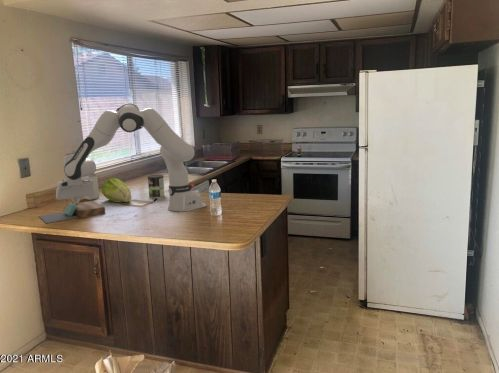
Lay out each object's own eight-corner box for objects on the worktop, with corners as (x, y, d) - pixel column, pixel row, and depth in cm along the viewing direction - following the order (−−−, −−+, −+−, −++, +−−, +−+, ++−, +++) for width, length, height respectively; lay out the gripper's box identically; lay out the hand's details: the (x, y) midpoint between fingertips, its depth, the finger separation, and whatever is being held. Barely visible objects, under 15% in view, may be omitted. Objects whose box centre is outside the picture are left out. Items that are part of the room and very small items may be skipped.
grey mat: (68, 211, 250) (68, 211, 250) (77, 218, 234) (77, 217, 234) (38, 216, 241) (38, 216, 241) (46, 223, 225) (46, 223, 225)
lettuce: (139, 208, 274) (116, 215, 264) (121, 190, 289) (99, 197, 279) (138, 188, 266) (114, 196, 257) (120, 172, 281) (97, 178, 272)
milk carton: (90, 200, 280) (87, 171, 277) (83, 199, 284) (80, 171, 280) (99, 197, 286) (96, 170, 282) (92, 196, 290) (90, 169, 286)
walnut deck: (93, 207, 260) (92, 200, 259) (105, 213, 242) (104, 206, 241) (69, 211, 251) (68, 204, 251) (80, 218, 234) (79, 211, 233)
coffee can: (153, 199, 277) (151, 177, 274) (146, 196, 285) (145, 176, 282) (167, 196, 283) (166, 175, 280) (160, 194, 291) (159, 174, 288)
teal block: (72, 204, 246) (69, 202, 244) (76, 206, 238) (73, 205, 237) (67, 213, 245) (64, 212, 243) (71, 216, 237) (68, 214, 236)
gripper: (91, 178, 249) (93, 201, 251) (53, 182, 237) (56, 207, 239) (94, 179, 244) (96, 203, 246) (56, 184, 232) (59, 209, 234)
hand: (76, 205), depth 243 cm, fingers closed
